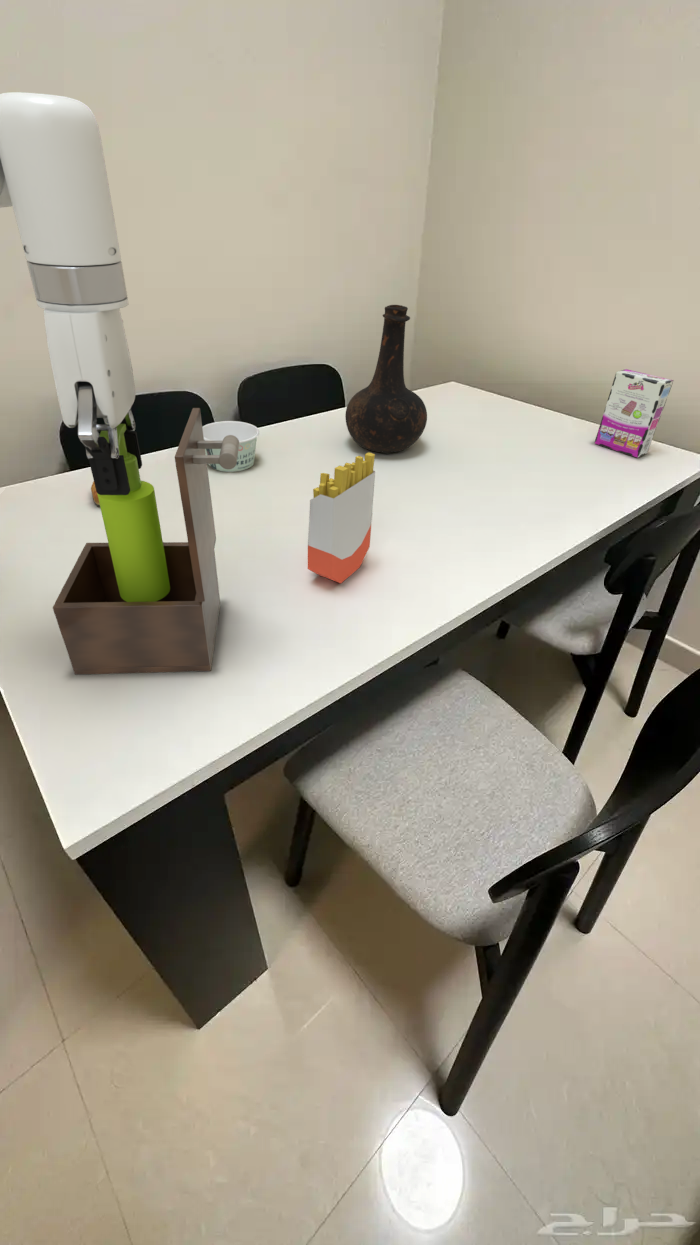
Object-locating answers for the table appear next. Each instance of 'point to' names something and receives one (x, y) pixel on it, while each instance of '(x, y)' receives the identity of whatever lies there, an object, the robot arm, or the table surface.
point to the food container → (245, 436)
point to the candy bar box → (633, 412)
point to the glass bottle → (387, 396)
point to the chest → (136, 618)
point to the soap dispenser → (135, 534)
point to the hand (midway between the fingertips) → (120, 478)
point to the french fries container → (341, 519)
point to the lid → (200, 494)
